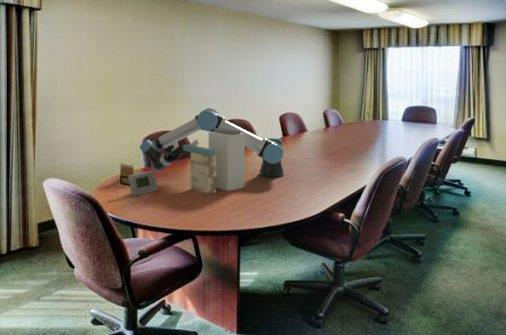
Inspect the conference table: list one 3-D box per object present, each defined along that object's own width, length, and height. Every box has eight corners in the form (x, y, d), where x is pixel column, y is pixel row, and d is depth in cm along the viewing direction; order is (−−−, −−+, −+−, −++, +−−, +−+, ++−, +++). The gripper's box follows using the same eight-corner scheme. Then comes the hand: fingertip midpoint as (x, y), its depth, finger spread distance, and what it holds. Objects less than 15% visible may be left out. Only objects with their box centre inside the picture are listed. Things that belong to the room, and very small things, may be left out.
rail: (187, 149, 252) (187, 144, 251) (215, 155, 235) (215, 149, 234) (182, 150, 250) (182, 144, 249) (210, 156, 233) (210, 150, 232)
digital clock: (132, 197, 229) (131, 176, 226) (124, 193, 235) (123, 173, 233) (161, 192, 239) (160, 172, 237) (152, 188, 246) (152, 169, 244)
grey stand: (225, 182, 263) (225, 127, 256) (244, 187, 252) (244, 129, 245) (208, 185, 254) (208, 128, 248) (227, 191, 243) (228, 131, 237)
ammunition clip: (135, 186, 251) (134, 164, 249) (132, 186, 250) (131, 165, 247) (122, 183, 257) (121, 162, 254) (119, 183, 255) (118, 163, 253)
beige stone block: (199, 187, 251) (199, 151, 247) (216, 192, 241) (216, 155, 237) (191, 188, 247) (190, 152, 242) (207, 194, 237) (207, 156, 233)
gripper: (188, 160, 270) (207, 146, 256) (152, 166, 253) (170, 151, 238) (184, 148, 272) (203, 134, 257) (148, 153, 254) (166, 138, 240)
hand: (187, 142), depth 247 cm, fingers open, 13 cm apart
